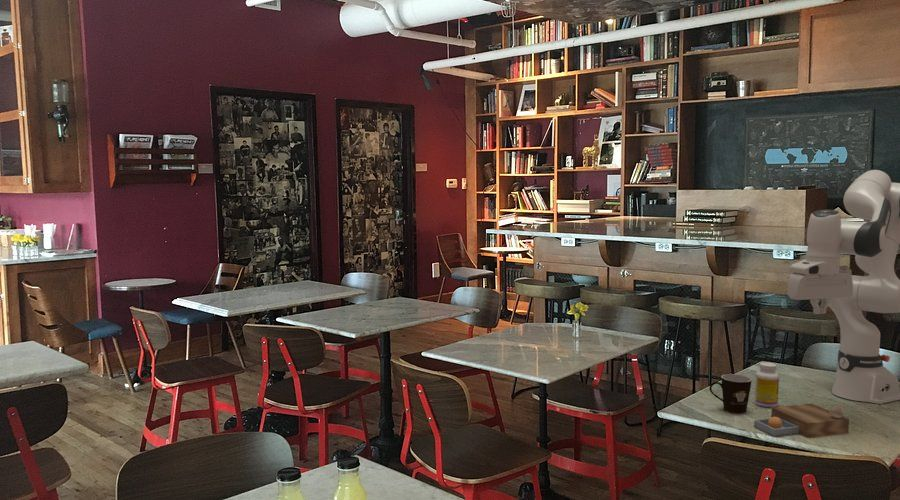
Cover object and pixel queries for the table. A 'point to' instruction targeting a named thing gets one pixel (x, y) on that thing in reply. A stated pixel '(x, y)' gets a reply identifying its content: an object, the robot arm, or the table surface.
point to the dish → (784, 430)
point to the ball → (775, 422)
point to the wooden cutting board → (812, 420)
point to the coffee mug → (734, 392)
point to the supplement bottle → (767, 385)
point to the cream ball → (836, 411)
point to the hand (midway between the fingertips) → (819, 313)
